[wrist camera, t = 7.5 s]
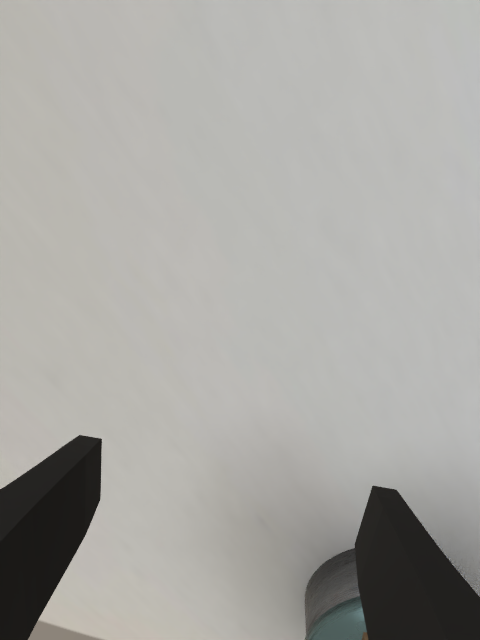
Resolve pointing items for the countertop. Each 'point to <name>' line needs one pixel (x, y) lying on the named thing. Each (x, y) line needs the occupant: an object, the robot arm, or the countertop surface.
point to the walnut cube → (365, 636)
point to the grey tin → (334, 601)
